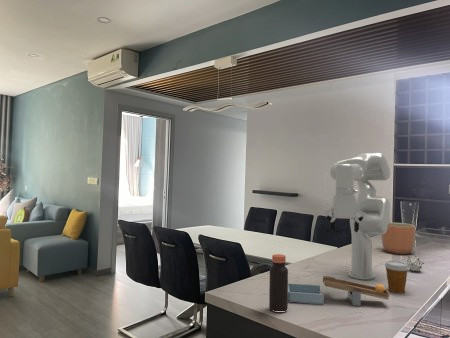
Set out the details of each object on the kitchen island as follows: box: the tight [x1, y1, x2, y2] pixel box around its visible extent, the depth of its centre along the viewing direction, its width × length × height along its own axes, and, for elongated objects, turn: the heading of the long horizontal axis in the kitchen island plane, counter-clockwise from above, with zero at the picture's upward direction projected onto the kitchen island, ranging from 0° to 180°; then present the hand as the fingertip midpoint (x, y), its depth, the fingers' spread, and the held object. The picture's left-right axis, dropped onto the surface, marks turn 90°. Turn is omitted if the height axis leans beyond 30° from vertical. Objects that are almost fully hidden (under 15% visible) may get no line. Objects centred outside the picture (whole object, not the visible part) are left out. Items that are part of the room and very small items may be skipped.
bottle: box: [268, 253, 289, 312], centre depth 127 cm, size 7×7×20 cm
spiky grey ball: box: [406, 255, 425, 273], centre depth 183 cm, size 9×8×10 cm
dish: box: [288, 282, 325, 306], centre depth 139 cm, size 12×14×4 cm
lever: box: [322, 275, 391, 300], centre depth 139 cm, size 13×24×4 cm, turn 82°
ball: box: [374, 283, 386, 293], centre depth 135 cm, size 4×4×4 cm
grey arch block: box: [347, 291, 362, 307], centre depth 136 cm, size 9×3×6 cm, turn 172°
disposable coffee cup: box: [384, 260, 410, 294], centre depth 151 cm, size 10×10×12 cm
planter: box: [380, 221, 416, 255], centre depth 231 cm, size 21×21×19 cm
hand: (344, 231), depth 149 cm, fingers open, 9 cm apart
